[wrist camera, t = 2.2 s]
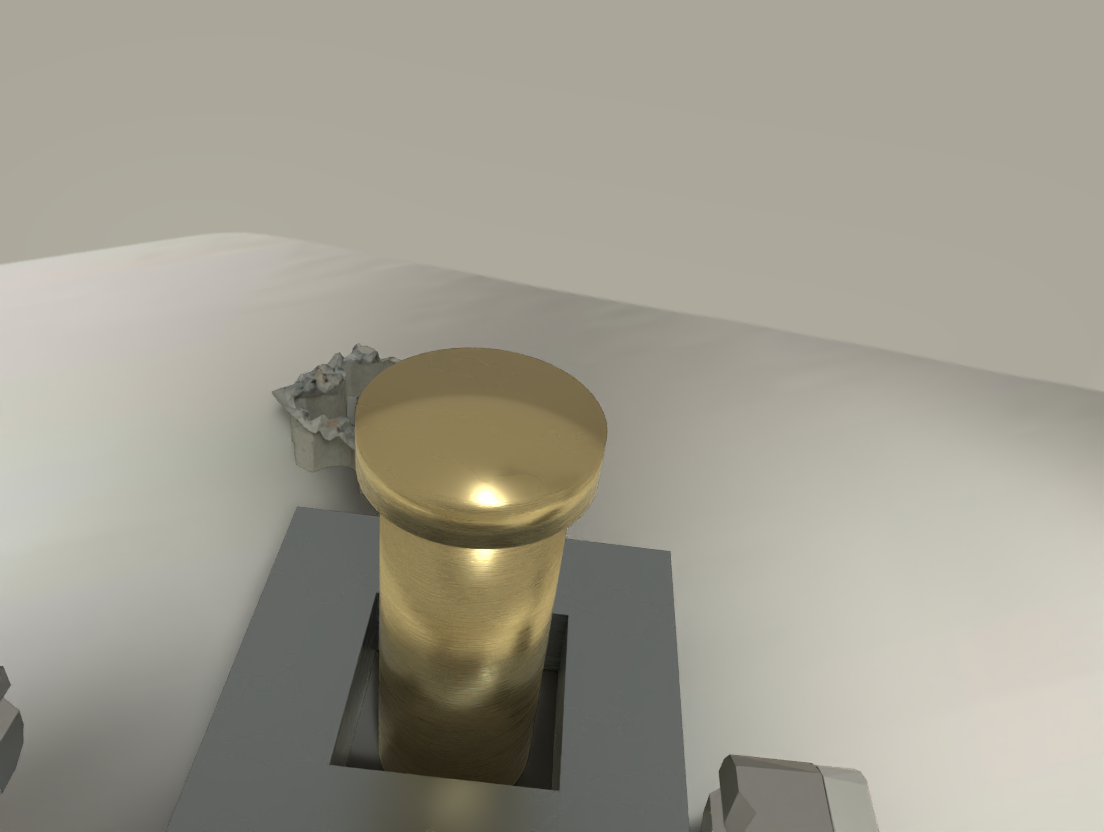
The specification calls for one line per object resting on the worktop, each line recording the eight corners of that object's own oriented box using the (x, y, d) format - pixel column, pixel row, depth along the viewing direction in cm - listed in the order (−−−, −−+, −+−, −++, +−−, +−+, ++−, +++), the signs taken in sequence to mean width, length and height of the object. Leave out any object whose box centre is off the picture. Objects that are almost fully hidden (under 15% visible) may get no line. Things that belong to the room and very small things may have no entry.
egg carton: (553, 466, 44) (564, 394, 41) (461, 560, 38) (468, 484, 36) (370, 381, 47) (370, 311, 45) (262, 456, 42) (256, 380, 39)
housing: (656, 605, 37) (670, 551, 35) (674, 990, 26) (696, 939, 24) (300, 563, 37) (297, 506, 35) (162, 935, 25) (146, 879, 24)
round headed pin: (552, 674, 34) (608, 363, 26) (541, 839, 29) (606, 516, 21) (380, 654, 34) (382, 335, 26) (340, 817, 29) (327, 482, 21)
